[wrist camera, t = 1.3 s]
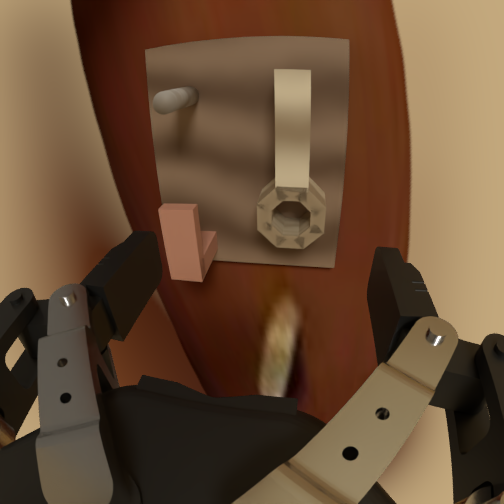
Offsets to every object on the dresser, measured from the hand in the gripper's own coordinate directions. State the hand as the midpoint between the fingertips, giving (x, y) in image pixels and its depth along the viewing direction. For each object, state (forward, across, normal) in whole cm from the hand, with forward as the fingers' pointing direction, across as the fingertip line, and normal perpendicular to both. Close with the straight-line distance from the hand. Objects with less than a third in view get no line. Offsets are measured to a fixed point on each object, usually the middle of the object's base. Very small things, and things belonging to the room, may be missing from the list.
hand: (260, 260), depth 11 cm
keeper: (+19, +8, +7) cm, 22 cm away
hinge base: (+19, +4, +1) cm, 19 cm away
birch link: (+18, 0, +1) cm, 18 cm away
